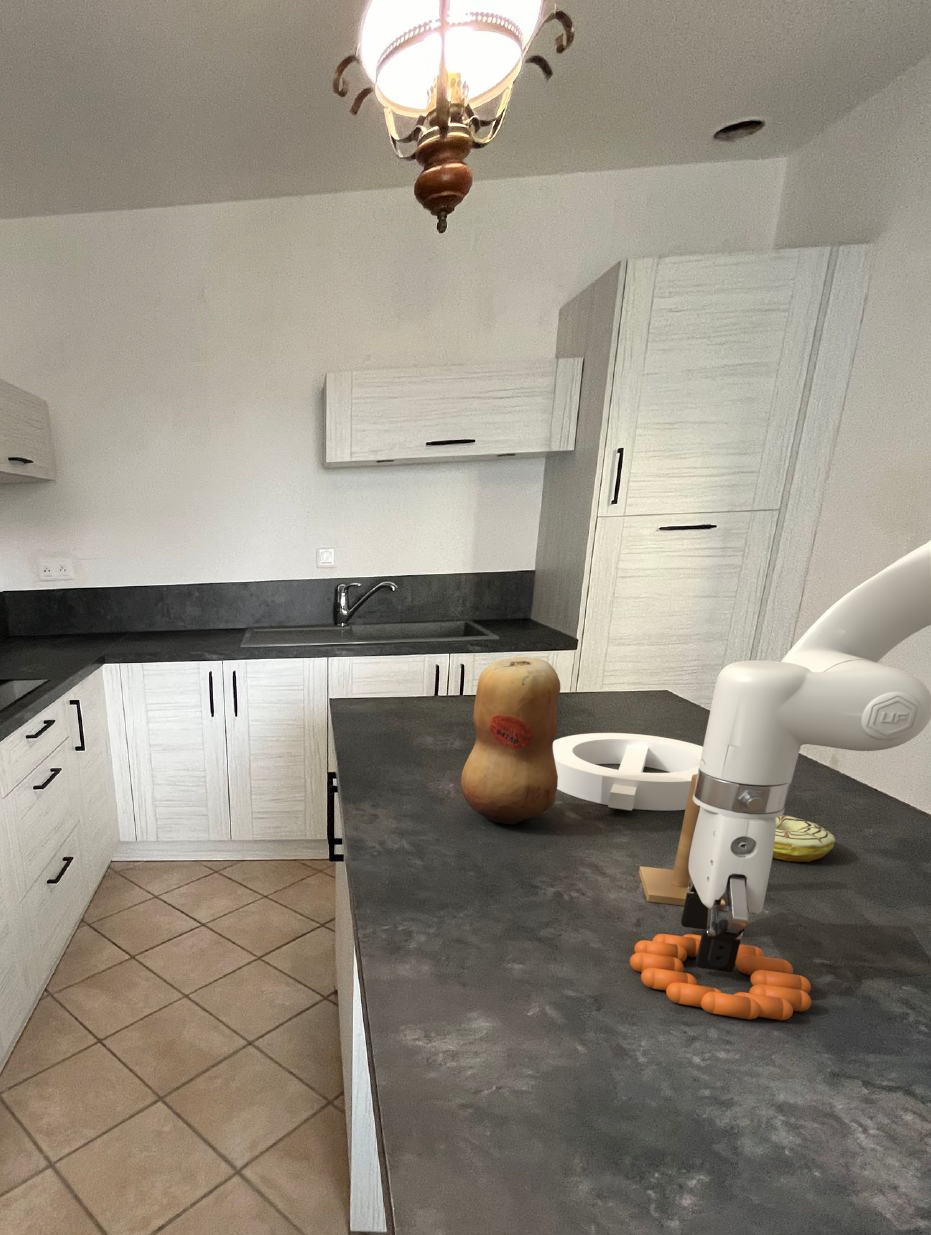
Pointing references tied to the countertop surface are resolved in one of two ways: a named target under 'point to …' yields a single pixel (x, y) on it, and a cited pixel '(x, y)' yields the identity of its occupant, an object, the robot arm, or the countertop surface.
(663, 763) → the white circle with bar
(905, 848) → the countertop surface
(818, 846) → the decorated donut
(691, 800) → the post
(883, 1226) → the countertop surface
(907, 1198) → the countertop surface
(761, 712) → the robot arm
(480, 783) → the butternut squash
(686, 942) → the ring
